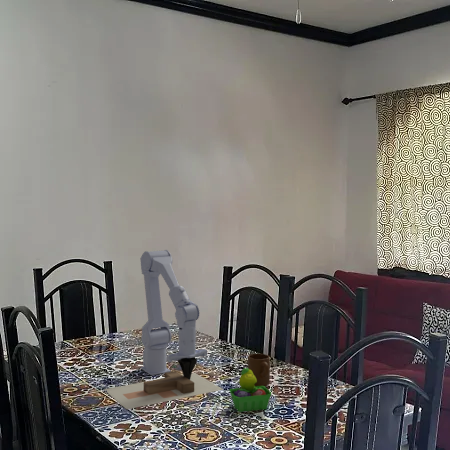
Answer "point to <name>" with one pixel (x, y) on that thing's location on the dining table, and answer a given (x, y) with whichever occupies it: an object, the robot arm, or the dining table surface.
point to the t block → (169, 384)
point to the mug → (260, 368)
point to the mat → (137, 397)
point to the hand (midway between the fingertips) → (187, 379)
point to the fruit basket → (249, 393)
